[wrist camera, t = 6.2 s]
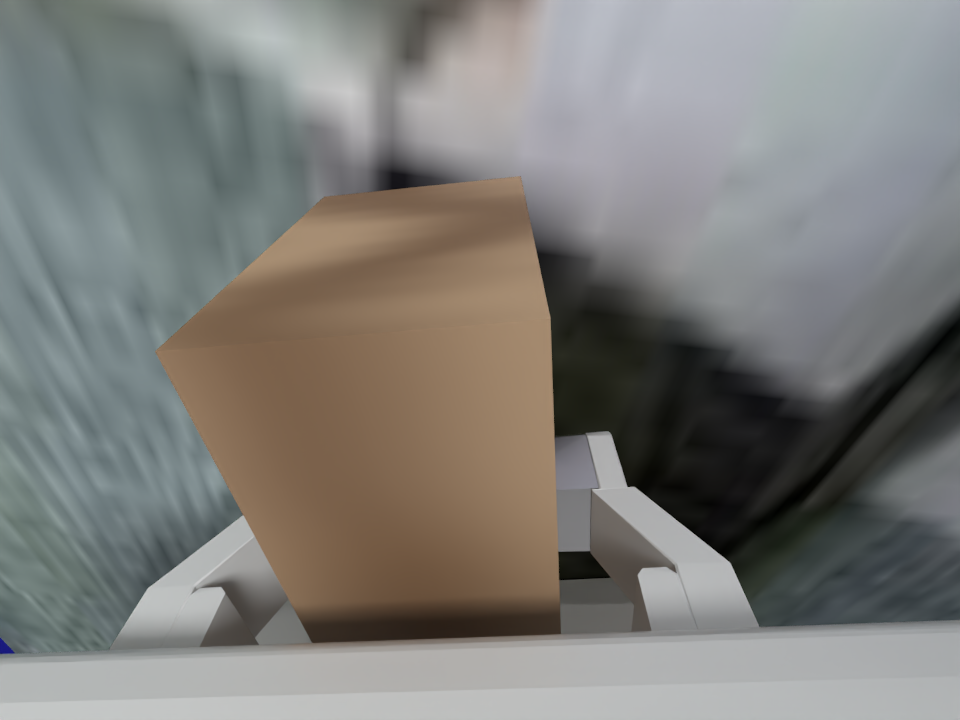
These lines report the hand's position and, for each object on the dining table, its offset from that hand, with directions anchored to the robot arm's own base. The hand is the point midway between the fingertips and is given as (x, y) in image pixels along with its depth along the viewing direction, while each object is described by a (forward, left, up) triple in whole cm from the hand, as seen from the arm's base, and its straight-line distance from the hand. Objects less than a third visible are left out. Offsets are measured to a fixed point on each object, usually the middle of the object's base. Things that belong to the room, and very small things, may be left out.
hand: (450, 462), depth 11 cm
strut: (0, 0, -2) cm, 2 cm away
